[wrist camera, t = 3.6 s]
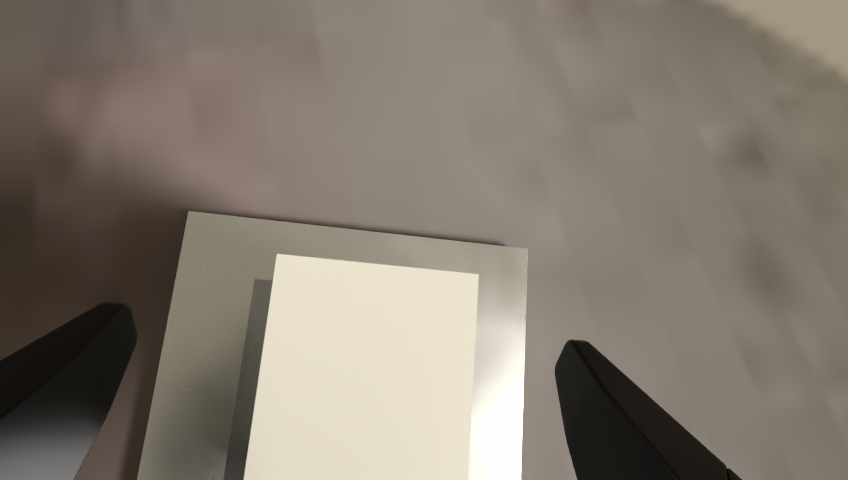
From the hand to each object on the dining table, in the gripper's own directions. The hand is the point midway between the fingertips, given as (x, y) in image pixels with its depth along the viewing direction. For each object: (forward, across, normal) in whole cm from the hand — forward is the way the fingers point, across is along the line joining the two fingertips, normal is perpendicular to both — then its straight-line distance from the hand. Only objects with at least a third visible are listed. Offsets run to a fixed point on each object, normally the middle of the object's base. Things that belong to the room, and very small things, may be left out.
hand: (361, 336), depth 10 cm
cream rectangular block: (+3, 0, +5) cm, 6 cm away
